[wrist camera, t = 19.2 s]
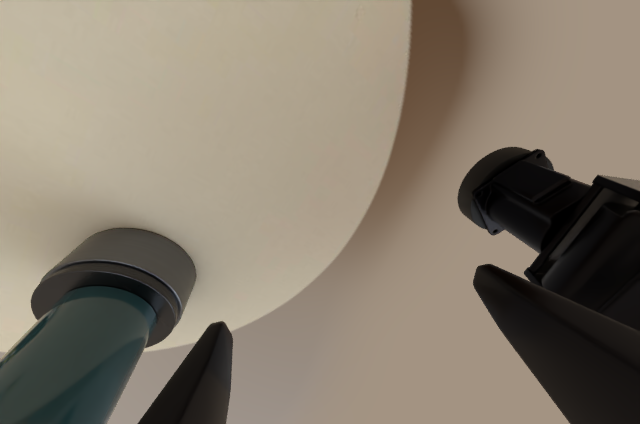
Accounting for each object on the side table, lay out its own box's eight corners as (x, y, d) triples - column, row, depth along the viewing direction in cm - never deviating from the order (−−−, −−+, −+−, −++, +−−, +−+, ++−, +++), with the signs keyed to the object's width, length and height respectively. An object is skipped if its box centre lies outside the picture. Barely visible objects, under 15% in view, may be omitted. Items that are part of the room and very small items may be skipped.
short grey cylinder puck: (217, 270, 22) (204, 312, 18) (155, 319, 24) (130, 366, 20) (120, 206, 18) (75, 243, 14) (53, 271, 20) (-3, 319, 16)
